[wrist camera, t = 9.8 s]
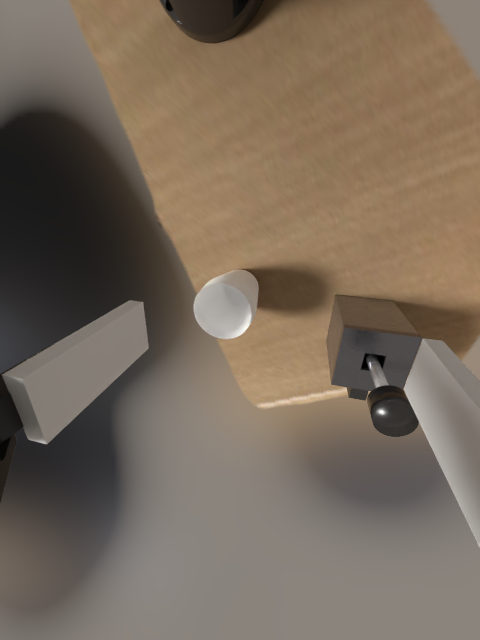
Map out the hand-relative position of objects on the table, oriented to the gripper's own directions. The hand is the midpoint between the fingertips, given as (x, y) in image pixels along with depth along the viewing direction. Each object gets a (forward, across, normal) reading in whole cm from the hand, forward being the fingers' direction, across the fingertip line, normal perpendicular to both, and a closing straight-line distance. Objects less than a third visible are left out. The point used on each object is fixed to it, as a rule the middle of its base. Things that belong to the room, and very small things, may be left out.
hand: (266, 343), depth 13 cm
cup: (+35, -9, -9) cm, 37 cm away
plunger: (+32, +12, -13) cm, 36 cm away
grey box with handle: (+35, +12, -15) cm, 40 cm away
